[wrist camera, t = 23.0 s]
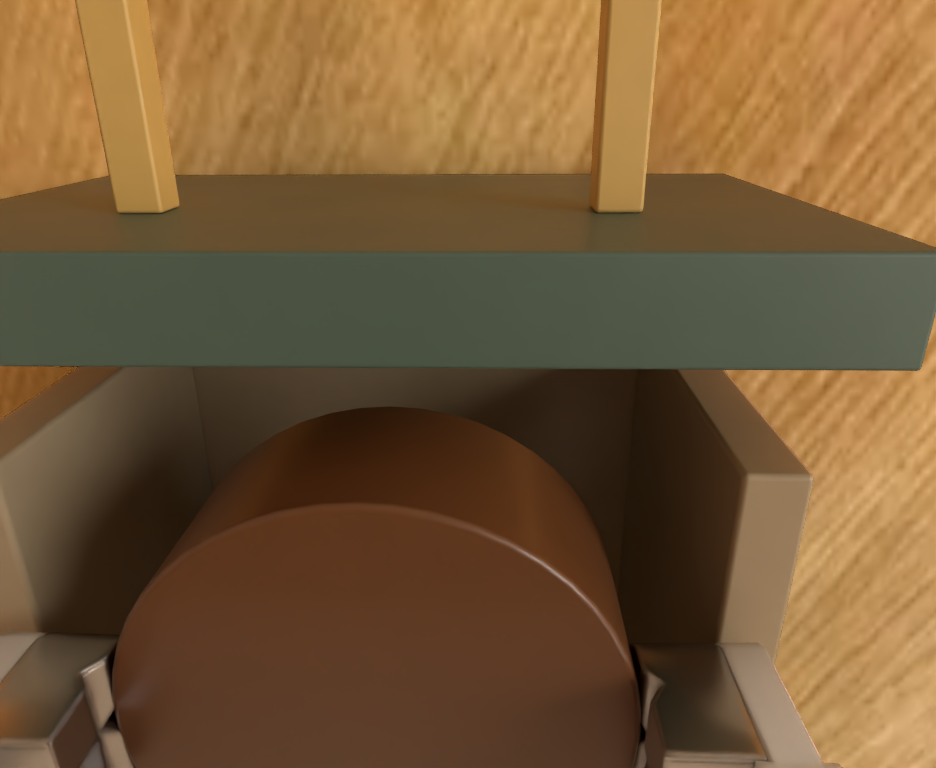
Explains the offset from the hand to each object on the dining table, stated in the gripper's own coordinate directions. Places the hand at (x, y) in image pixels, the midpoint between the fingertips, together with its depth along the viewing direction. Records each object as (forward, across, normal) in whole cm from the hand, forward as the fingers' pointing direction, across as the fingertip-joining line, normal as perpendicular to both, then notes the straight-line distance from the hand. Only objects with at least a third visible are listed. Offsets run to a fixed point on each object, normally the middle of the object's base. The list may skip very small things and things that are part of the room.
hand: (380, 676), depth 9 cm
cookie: (+2, 0, 0) cm, 2 cm away
